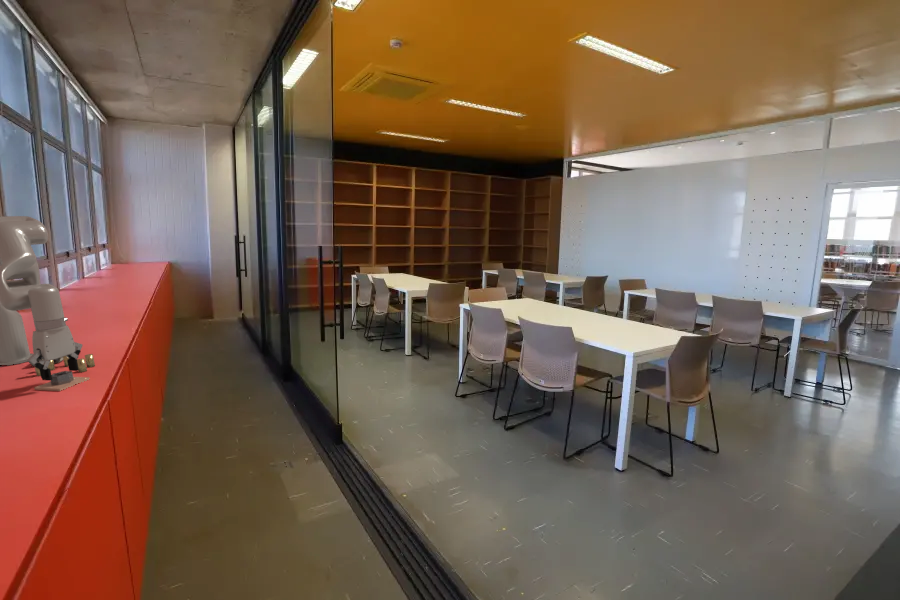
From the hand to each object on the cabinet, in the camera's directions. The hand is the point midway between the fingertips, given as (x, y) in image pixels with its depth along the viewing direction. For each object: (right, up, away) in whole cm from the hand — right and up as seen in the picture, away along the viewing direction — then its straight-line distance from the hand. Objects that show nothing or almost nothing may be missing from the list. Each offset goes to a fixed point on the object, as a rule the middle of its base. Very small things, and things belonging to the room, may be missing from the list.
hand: (61, 374), depth 148 cm
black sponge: (-27, +1, +28) cm, 38 cm away
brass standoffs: (-11, -1, +15) cm, 18 cm away
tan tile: (0, -3, +1) cm, 3 cm away
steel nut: (0, -3, +1) cm, 3 cm away
